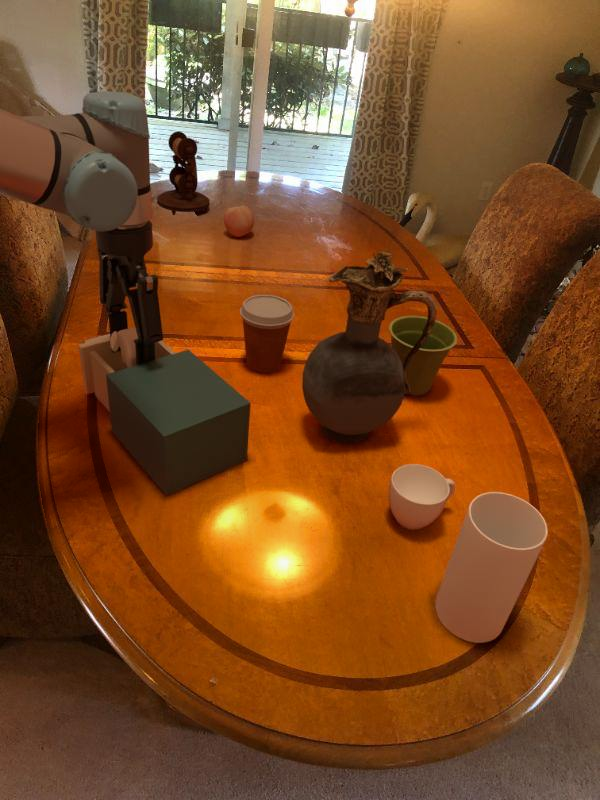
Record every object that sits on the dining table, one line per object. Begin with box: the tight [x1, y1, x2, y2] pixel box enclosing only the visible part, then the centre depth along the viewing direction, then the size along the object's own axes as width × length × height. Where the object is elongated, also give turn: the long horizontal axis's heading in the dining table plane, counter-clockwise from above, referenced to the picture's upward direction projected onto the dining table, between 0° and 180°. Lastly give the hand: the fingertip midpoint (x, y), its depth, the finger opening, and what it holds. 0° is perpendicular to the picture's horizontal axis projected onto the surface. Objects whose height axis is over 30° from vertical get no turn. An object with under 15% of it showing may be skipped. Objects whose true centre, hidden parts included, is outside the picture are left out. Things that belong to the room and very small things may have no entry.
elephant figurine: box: [110, 327, 138, 368], centre depth 95 cm, size 7×8×6 cm
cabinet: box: [106, 349, 251, 497], centre depth 90 cm, size 17×14×11 cm
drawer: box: [78, 333, 176, 413], centre depth 98 cm, size 21×12×9 cm, turn 40°
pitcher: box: [301, 251, 438, 444], centre depth 92 cm, size 11×19×30 cm, turn 104°
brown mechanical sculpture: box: [156, 131, 211, 216], centre depth 171 cm, size 15×15×20 cm
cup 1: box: [388, 463, 456, 531], centre depth 84 cm, size 8×10×7 cm
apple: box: [223, 204, 255, 238], centre depth 162 cm, size 8×8×8 cm
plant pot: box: [388, 315, 458, 396], centre depth 110 cm, size 12×12×11 cm
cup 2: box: [434, 491, 549, 644], centre depth 69 cm, size 8×8×16 cm
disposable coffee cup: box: [239, 294, 295, 374], centre depth 111 cm, size 10×10×12 cm
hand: (133, 361), depth 96 cm, fingers closed on elephant figurine, 8 cm apart
